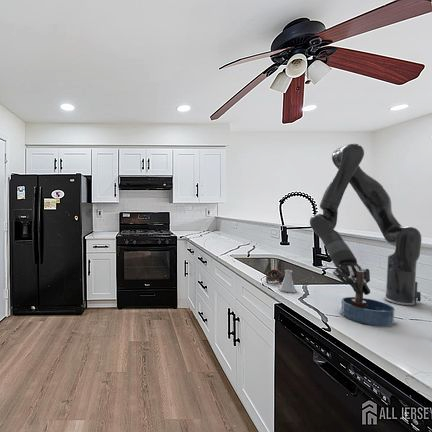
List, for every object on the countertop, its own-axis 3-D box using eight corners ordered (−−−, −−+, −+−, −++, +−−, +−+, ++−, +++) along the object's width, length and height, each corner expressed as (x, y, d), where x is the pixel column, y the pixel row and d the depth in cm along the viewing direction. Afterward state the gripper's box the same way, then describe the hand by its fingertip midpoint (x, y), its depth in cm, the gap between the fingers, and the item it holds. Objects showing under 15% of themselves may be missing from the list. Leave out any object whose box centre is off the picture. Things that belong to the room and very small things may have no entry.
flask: (295, 294, 131) (296, 272, 131) (278, 291, 135) (279, 270, 135) (296, 290, 138) (297, 269, 137) (280, 287, 141) (281, 267, 141)
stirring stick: (359, 306, 106) (361, 269, 105) (369, 310, 102) (371, 272, 101) (348, 306, 106) (350, 269, 105) (357, 310, 101) (359, 272, 101)
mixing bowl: (368, 310, 112) (369, 296, 112) (405, 327, 97) (406, 311, 97) (331, 310, 111) (332, 296, 111) (363, 327, 96) (364, 311, 96)
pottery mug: (290, 287, 144) (283, 273, 143) (271, 293, 147) (265, 280, 146) (283, 275, 155) (277, 263, 154) (266, 281, 158) (260, 269, 157)
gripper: (328, 248, 110) (351, 288, 98) (362, 248, 111) (389, 288, 99) (319, 259, 116) (339, 298, 104) (351, 259, 116) (375, 298, 104)
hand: (364, 293), depth 101 cm, fingers closed on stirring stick, 2 cm apart
